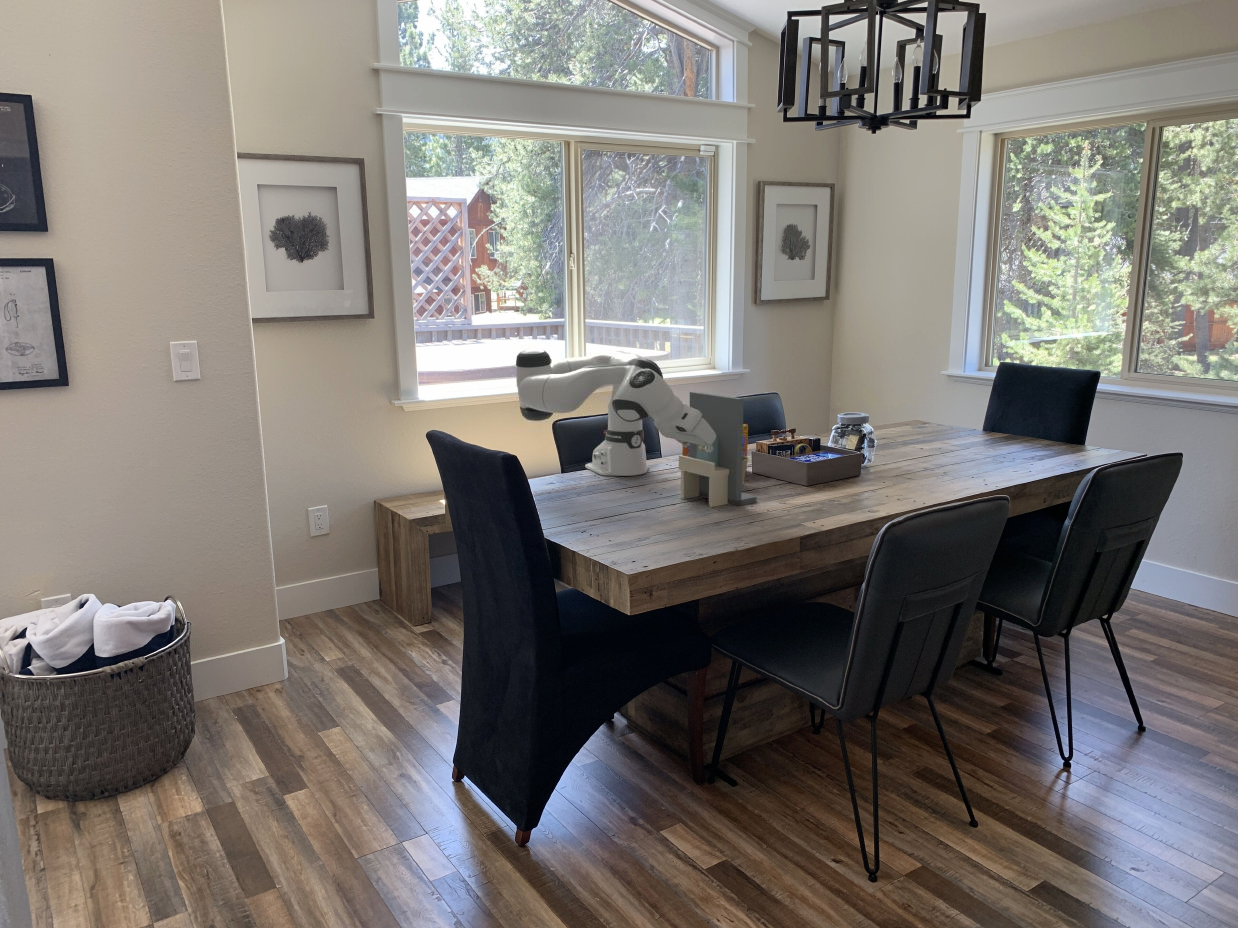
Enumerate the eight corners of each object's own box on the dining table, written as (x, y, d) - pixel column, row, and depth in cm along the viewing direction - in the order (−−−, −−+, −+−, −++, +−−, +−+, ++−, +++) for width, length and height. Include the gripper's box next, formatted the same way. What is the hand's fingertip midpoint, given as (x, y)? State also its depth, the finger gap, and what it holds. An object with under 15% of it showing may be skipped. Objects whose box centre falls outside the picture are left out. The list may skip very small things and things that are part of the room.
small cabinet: (694, 465, 258) (694, 438, 256) (705, 463, 260) (706, 436, 259) (706, 468, 254) (706, 440, 252) (717, 466, 256) (718, 438, 255)
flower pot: (724, 490, 271) (724, 461, 270) (712, 483, 280) (713, 455, 279) (753, 487, 274) (754, 459, 272) (741, 481, 283) (741, 454, 281)
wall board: (671, 496, 264) (672, 393, 258) (708, 489, 273) (710, 389, 267) (718, 509, 248) (720, 401, 242) (756, 501, 257) (759, 396, 251)
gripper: (642, 420, 253) (668, 451, 261) (690, 429, 237) (717, 462, 245) (655, 403, 255) (681, 434, 262) (704, 411, 239) (730, 444, 246)
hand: (699, 447), depth 253 cm, fingers open, 8 cm apart
